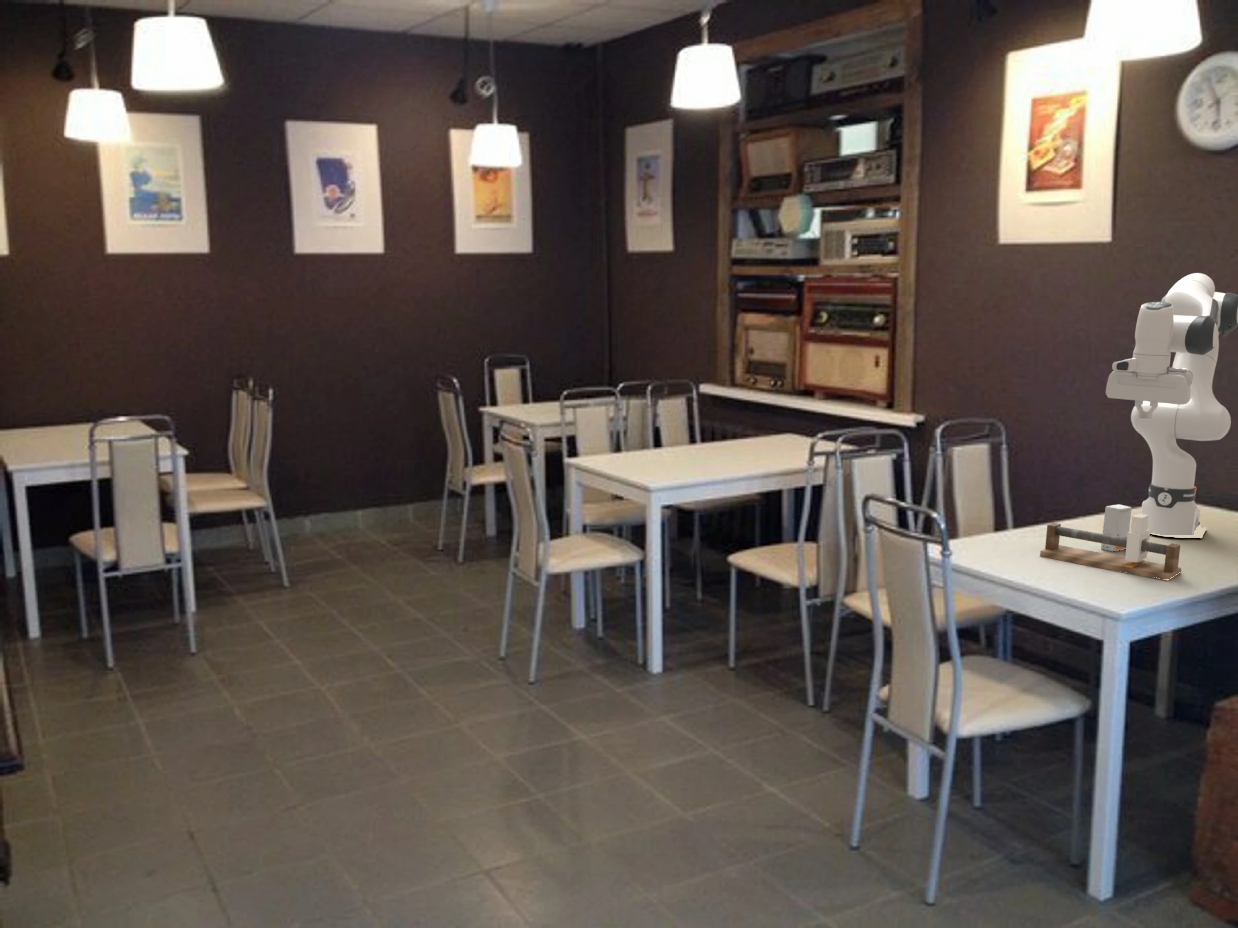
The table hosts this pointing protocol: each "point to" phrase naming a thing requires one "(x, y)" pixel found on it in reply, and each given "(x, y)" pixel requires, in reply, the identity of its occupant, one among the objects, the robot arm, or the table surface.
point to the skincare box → (1116, 524)
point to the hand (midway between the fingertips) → (1144, 418)
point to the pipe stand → (1108, 560)
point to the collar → (1137, 538)
